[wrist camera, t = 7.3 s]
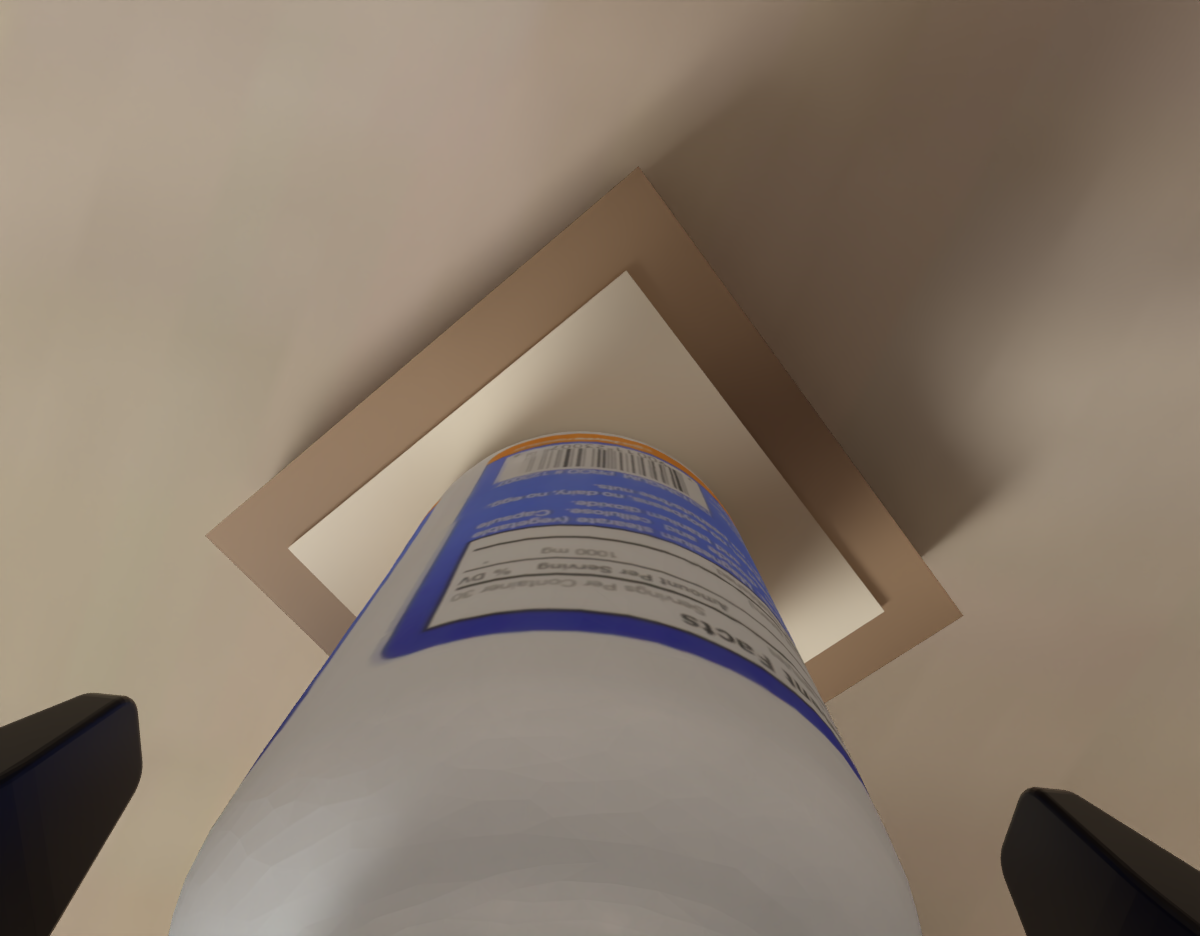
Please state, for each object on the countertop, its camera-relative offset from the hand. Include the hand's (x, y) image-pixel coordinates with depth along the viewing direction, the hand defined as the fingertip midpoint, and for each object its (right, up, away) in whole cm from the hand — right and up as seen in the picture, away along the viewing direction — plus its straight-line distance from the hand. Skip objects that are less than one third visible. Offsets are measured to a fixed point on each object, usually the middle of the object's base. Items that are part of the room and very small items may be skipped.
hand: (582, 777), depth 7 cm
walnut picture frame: (0, +2, +6) cm, 7 cm away
